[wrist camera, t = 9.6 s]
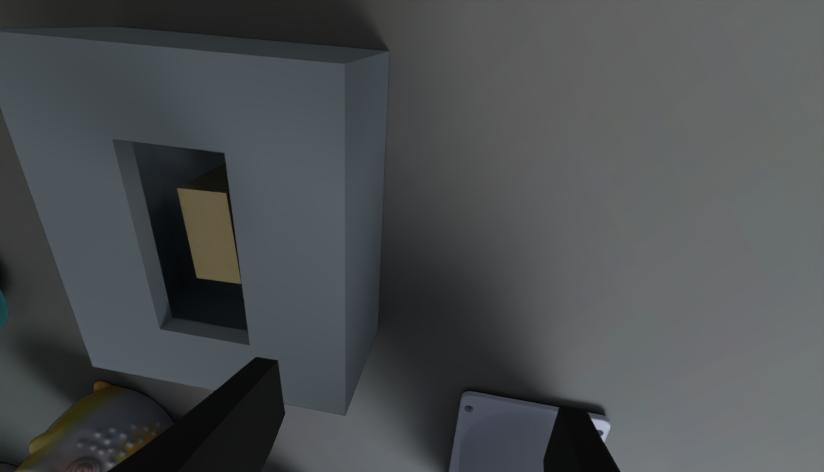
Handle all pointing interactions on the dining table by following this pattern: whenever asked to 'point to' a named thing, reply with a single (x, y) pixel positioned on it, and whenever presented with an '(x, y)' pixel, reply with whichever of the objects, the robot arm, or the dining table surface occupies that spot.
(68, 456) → the mug
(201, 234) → the brass block
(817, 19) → the dining table surface
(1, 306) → the beverage bottle
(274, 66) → the grey block with hole
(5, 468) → the flask
